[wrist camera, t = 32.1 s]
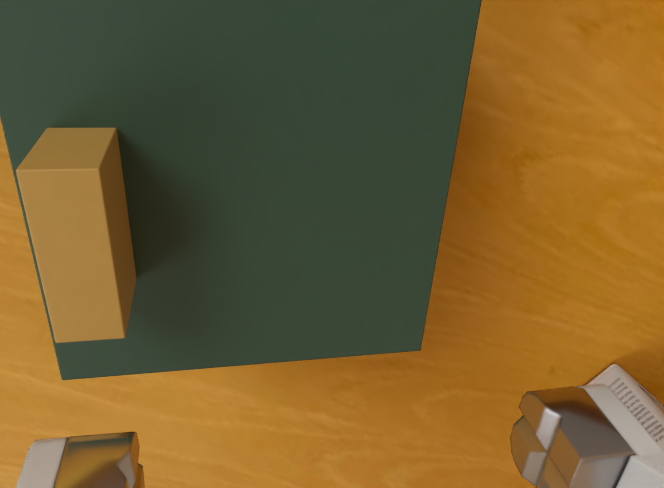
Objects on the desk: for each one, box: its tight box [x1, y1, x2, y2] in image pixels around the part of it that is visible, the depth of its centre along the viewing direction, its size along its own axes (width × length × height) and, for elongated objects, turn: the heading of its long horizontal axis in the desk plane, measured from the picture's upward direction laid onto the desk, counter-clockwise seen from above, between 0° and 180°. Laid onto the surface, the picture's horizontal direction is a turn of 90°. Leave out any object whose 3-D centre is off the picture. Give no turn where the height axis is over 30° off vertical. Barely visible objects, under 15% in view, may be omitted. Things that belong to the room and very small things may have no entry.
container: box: [587, 364, 664, 450], centre depth 40 cm, size 8×8×13 cm
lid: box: [0, 0, 481, 380], centre depth 17 cm, size 13×13×4 cm
